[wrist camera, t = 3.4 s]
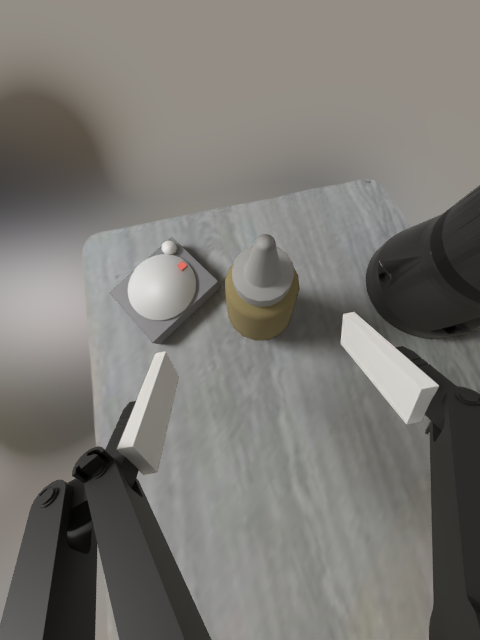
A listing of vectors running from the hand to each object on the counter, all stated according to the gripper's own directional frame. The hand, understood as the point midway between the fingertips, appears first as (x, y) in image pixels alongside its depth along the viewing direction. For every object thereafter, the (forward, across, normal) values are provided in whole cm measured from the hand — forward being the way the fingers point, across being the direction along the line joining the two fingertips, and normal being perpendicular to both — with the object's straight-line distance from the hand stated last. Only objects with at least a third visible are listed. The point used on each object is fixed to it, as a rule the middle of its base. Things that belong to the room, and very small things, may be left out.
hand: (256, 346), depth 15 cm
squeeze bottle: (+13, +2, -6) cm, 14 cm away
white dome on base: (+17, -11, -1) cm, 20 cm away
